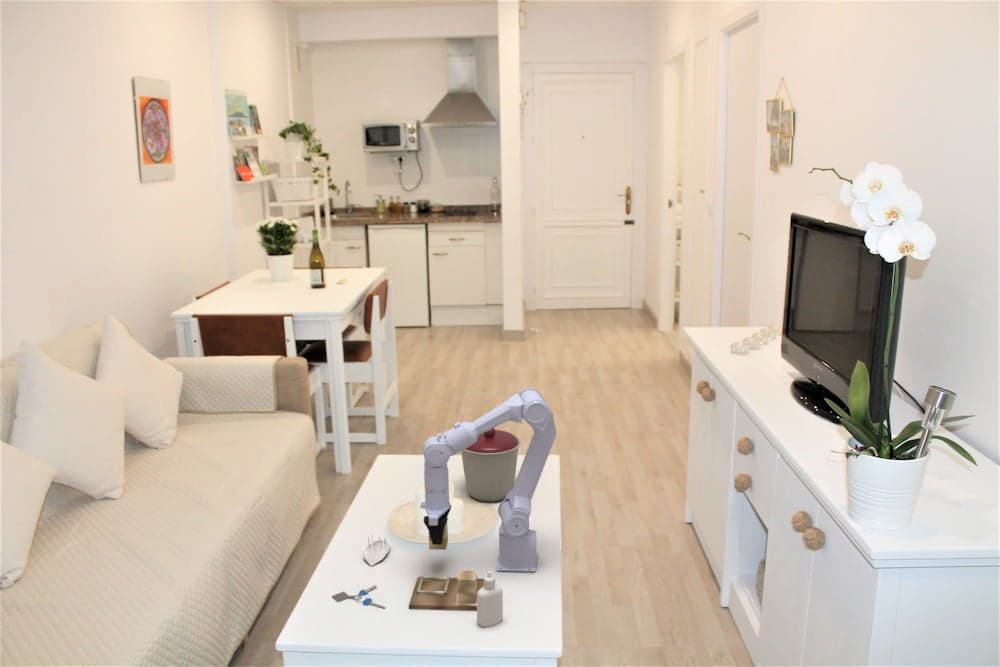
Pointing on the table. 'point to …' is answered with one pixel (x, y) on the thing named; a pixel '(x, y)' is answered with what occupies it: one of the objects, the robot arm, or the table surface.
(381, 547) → the pincushion
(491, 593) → the eye dropper bottle
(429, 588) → the board
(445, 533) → the maple peg
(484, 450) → the canister
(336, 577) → the table surface
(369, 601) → the key chain
